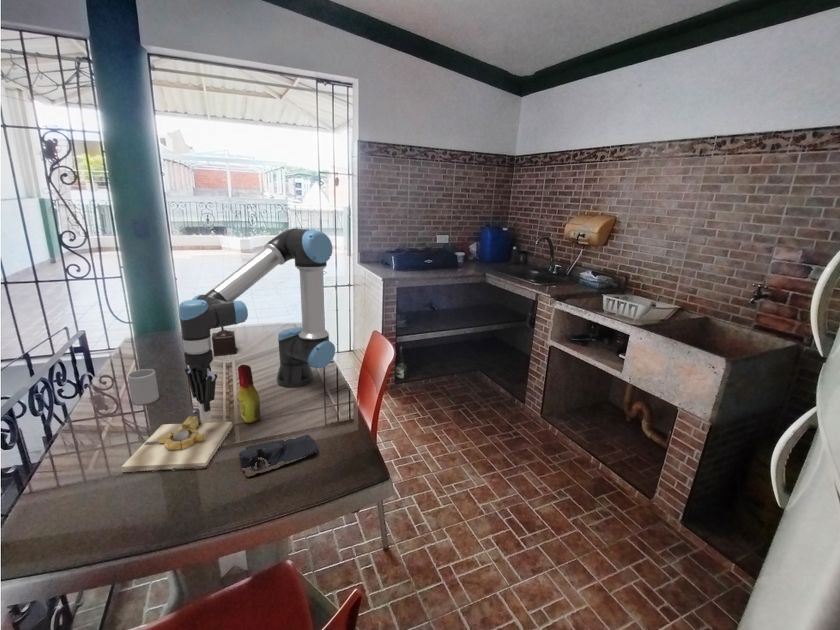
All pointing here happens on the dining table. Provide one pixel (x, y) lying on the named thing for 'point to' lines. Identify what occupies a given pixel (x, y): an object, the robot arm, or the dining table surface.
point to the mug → (143, 386)
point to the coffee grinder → (224, 343)
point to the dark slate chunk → (277, 451)
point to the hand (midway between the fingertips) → (205, 419)
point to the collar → (189, 425)
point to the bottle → (248, 395)
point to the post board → (197, 454)
